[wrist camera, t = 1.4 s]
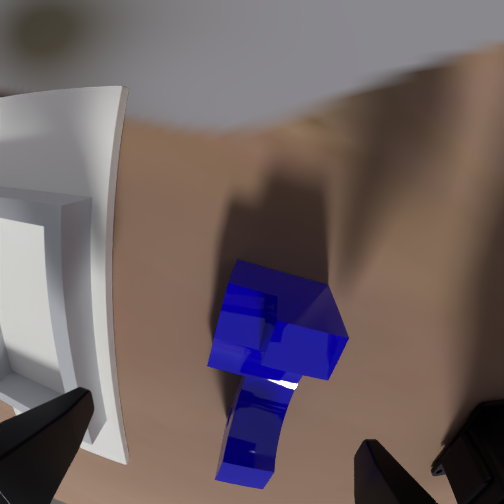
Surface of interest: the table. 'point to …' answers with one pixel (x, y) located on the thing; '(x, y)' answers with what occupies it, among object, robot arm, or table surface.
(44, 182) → the desk organizer
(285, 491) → the table surface
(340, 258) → the table surface
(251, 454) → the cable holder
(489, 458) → the robot arm
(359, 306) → the table surface
